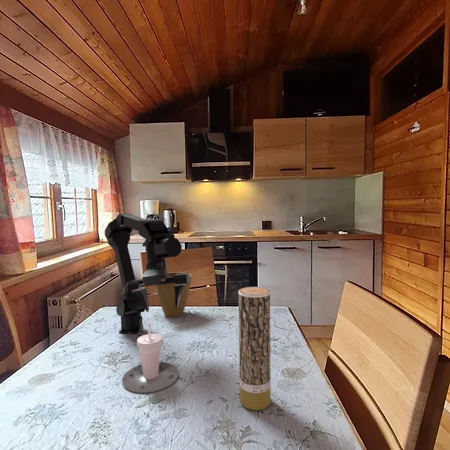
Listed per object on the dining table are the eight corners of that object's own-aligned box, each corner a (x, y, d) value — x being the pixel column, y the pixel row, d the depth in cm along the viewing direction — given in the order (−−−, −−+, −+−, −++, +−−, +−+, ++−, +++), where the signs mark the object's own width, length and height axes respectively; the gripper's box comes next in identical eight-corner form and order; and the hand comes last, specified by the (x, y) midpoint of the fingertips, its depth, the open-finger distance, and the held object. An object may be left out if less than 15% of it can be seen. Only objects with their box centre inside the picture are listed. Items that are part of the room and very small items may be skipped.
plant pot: (148, 318, 122) (147, 278, 122) (166, 307, 137) (165, 271, 136) (182, 322, 118) (181, 280, 117) (197, 310, 132) (197, 273, 131)
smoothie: (136, 383, 76) (134, 327, 75) (139, 369, 82) (138, 318, 82) (162, 381, 77) (161, 325, 76) (164, 368, 83) (163, 316, 82)
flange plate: (111, 391, 74) (111, 388, 74) (136, 362, 87) (136, 359, 87) (168, 395, 72) (168, 392, 72) (185, 365, 85) (184, 362, 85)
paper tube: (273, 396, 71) (272, 288, 69) (267, 415, 64) (266, 296, 63) (244, 391, 73) (243, 286, 72) (236, 408, 66) (234, 293, 65)
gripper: (116, 264, 89) (122, 319, 88) (179, 256, 88) (186, 311, 87) (131, 262, 100) (136, 311, 99) (187, 255, 99) (193, 304, 98)
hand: (162, 309), depth 95 cm, fingers open, 9 cm apart
